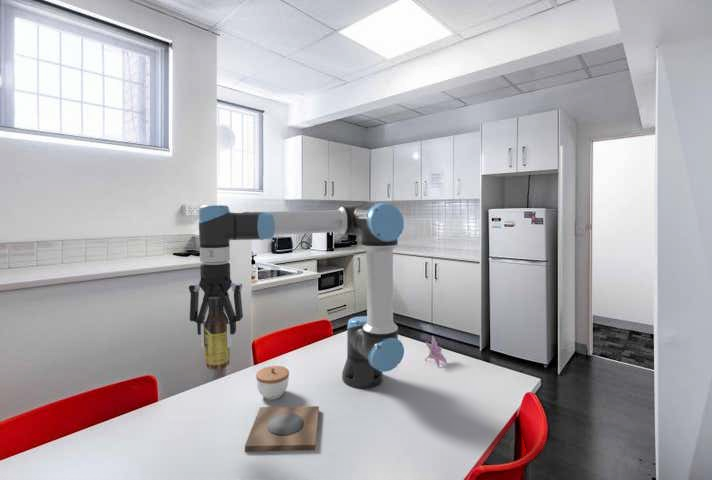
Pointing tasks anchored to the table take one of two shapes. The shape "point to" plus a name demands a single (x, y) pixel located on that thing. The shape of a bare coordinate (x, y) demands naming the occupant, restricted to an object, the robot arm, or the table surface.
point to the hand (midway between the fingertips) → (217, 345)
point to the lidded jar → (272, 381)
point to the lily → (435, 352)
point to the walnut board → (284, 429)
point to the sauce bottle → (216, 335)
